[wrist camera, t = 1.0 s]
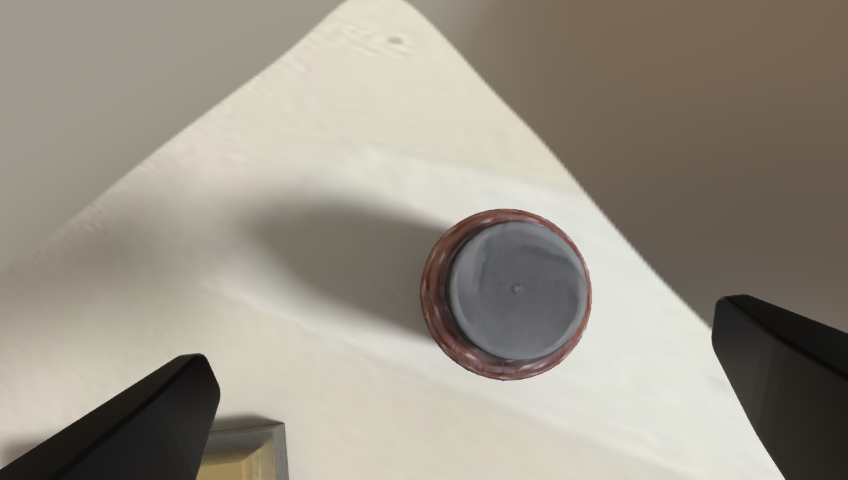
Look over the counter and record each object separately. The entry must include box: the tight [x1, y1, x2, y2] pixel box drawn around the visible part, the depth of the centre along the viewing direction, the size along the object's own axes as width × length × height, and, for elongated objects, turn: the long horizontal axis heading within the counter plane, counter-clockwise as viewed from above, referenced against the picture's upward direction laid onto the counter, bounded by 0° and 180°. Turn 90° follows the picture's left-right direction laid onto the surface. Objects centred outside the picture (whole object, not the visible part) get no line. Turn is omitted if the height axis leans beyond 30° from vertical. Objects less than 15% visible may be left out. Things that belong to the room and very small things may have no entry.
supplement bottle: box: [420, 209, 592, 381], centre depth 19 cm, size 6×6×11 cm
